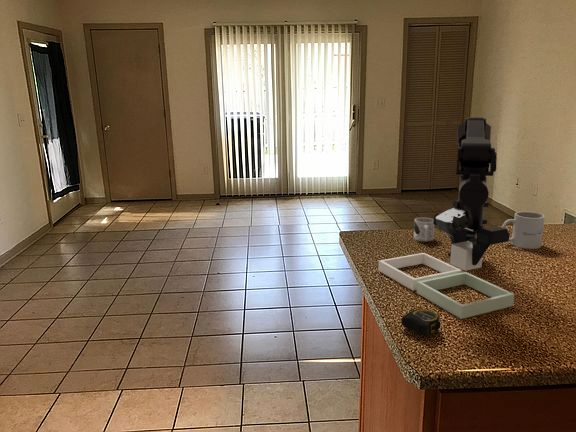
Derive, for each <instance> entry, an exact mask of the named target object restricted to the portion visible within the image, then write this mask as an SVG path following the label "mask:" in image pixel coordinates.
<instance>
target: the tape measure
mask: <svg viewBox="0 0 576 432" xmlns="http://www.w3.org/2000/svg"><path fill="white" fill-rule="evenodd" d="M400 320H401V321H400V322H401V325H402V326H403V327H404V328H405V329H407V330H410V331H412V332H413V333H416V334H418V335H420V336H422V337H423V338H429V337H430V336H431V335H434V334H436V333H438V331H439V329H440V328H441V321H440V317H439V315H438V314H437V313H436V312H435V311H432V310H430V309H427V308H426V309H425V308H417V309H415V308H414V309H413V310H412V309H411V310H410V311H409V312H408V313H407V314H405V315H403V316H402V318H401V319H400Z"/></svg>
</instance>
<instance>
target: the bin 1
mask: <svg viewBox="0 0 576 432" xmlns="http://www.w3.org/2000/svg"><path fill="white" fill-rule="evenodd" d="M422 264H423V265H424V266H427V267H428V268H431V269H432V270H435V271H437V272H439V273H435V274H429V275H424V276H419V277H413V276H411V275H410V274H408V273H405V272H404V271H402V270H400V269H401V268H405V267H406V268H407V267H412V266H417V265H422ZM377 269H378V270H377V271H378V272H380V273H382V274H383V275H385V276H387V277H389V278H390V279H392V280H394V281H395V282H397V283H398V284H400V285H402V286H403V287H406V288H407V289H409V290H411V291H412V292H413V291H417V282H419V281H424V280H429V279H433V278H438V277H443V276H448V275H453V274H458V273H463V269H461V268H458V267H456V266H454V265H452V264H450V263H447V262H446V261H443V260H441V259H438V258H436V257H434V256H432V255H429V254H428V253H426V252H419V253H414V254H409V255H405V256H404V255H402V256H397V257H392V258H387V259H386V258H385V259H382V260H378V268H377Z"/></svg>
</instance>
